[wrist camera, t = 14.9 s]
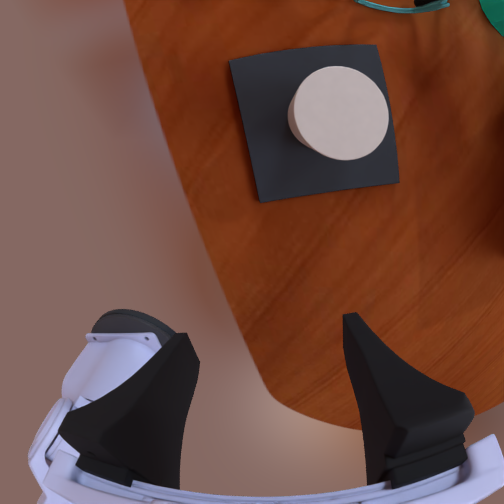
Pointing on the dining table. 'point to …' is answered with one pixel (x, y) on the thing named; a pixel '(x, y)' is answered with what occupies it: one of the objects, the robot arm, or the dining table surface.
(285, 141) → the coaster
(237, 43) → the dining table surface
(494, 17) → the candle
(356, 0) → the sunglasses
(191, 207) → the dining table surface
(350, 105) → the white cylinder
